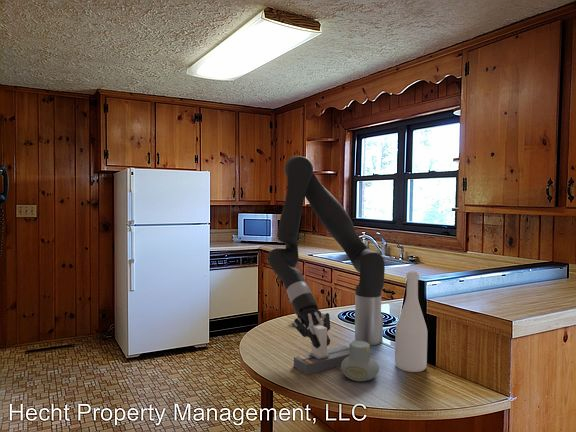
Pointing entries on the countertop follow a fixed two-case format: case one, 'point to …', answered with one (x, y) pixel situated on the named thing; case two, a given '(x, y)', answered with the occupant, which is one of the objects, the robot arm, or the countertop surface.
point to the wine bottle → (411, 331)
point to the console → (321, 360)
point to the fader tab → (322, 337)
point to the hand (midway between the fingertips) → (323, 345)
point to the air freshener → (359, 363)
